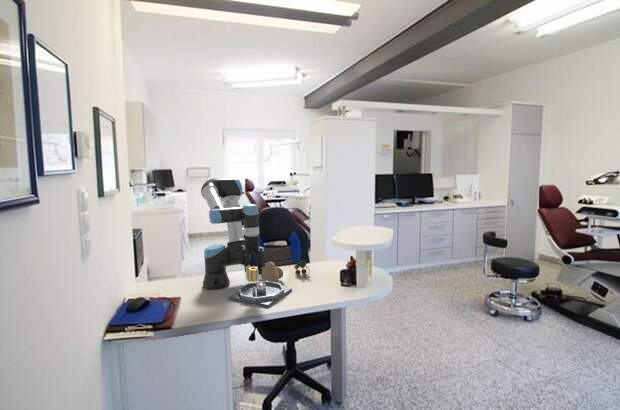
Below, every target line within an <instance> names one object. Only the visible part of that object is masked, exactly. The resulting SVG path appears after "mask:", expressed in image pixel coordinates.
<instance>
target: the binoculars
mask: <svg viewBox="0 0 620 410" xmlns="http://www.w3.org/2000/svg"><path fill="white" fill-rule="evenodd" d="M307 264H308V261H307V260H305V261H303V260H300V261H299V262H297V263H296V264H295V265H294V266H293V268H294V269H295V272H294V273H295V275H297V276H298V277H303V278H305V277H307V276H308V275H309V274H310V272H311V270H310V268H309V267H308V266H307ZM305 267H306V268H305ZM299 268H301V270H300V269H299ZM307 269H308V274H307ZM300 274H303V275H300ZM305 274H307V275H305Z"/></svg>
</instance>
